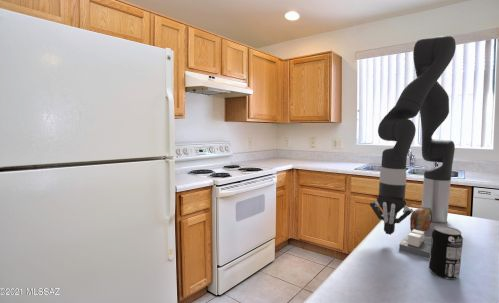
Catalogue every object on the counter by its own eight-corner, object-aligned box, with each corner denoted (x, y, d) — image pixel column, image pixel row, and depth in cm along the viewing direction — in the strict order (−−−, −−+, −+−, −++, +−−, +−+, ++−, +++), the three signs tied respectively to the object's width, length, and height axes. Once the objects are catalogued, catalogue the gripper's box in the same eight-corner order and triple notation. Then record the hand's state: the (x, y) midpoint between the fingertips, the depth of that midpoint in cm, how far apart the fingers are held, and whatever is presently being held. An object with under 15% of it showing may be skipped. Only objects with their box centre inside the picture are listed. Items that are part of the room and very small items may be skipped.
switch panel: (409, 238, 95) (410, 232, 95) (452, 249, 87) (453, 242, 87) (398, 250, 86) (399, 243, 86) (445, 263, 78) (446, 256, 77)
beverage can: (430, 264, 77) (433, 223, 76) (459, 272, 73) (464, 229, 72) (427, 274, 72) (430, 229, 71) (458, 283, 68) (463, 236, 67)
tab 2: (409, 241, 87) (410, 232, 87) (420, 244, 85) (421, 235, 85) (407, 244, 85) (408, 234, 85) (418, 247, 83) (419, 237, 83)
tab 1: (413, 238, 90) (413, 229, 90) (423, 240, 88) (424, 231, 88) (411, 240, 88) (411, 231, 88) (421, 243, 86) (422, 233, 86)
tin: (417, 237, 96) (418, 213, 95) (407, 234, 99) (409, 211, 98) (432, 227, 106) (434, 206, 105) (422, 225, 108) (424, 204, 107)
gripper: (419, 183, 86) (414, 236, 88) (375, 177, 95) (372, 225, 97) (412, 186, 81) (408, 243, 83) (367, 179, 90) (363, 231, 92)
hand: (388, 233), depth 90 cm, fingers closed
